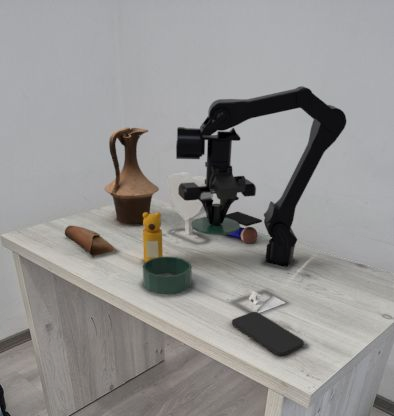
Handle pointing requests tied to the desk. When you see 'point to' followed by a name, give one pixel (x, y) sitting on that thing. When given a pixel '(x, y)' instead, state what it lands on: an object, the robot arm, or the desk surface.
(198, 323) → the desk surface
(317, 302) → the desk surface
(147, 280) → the pot
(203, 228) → the pot lid
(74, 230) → the sunglasses case
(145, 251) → the toy
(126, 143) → the pitcher
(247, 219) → the figurine character
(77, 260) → the desk surface
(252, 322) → the phone
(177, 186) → the heart sculpture
